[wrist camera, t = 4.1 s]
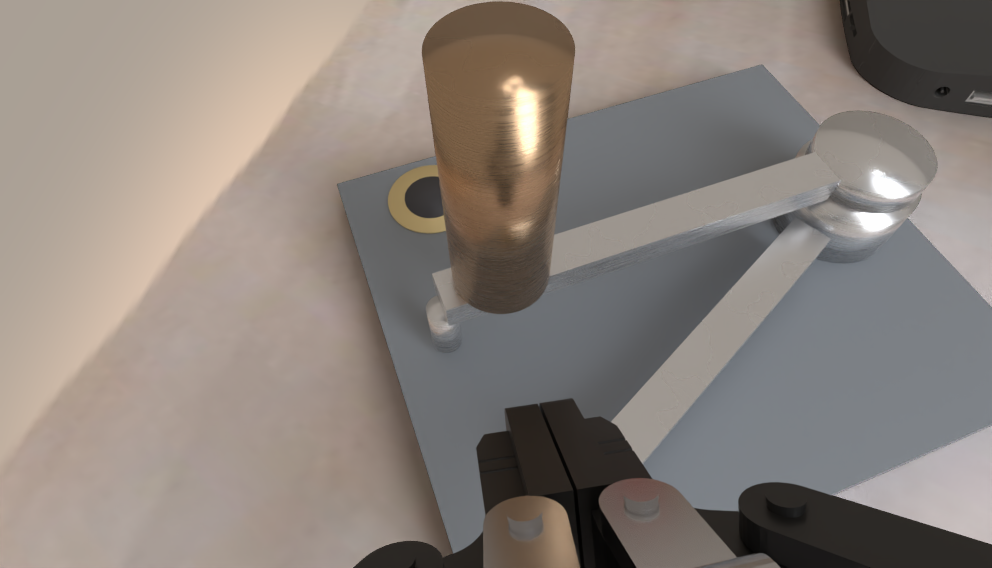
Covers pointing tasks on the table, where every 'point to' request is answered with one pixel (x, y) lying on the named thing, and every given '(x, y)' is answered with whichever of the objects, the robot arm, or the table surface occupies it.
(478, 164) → the crank handle
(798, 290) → the hole plate
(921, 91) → the media streaming box
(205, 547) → the table surface
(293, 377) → the table surface
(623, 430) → the divider pivot
